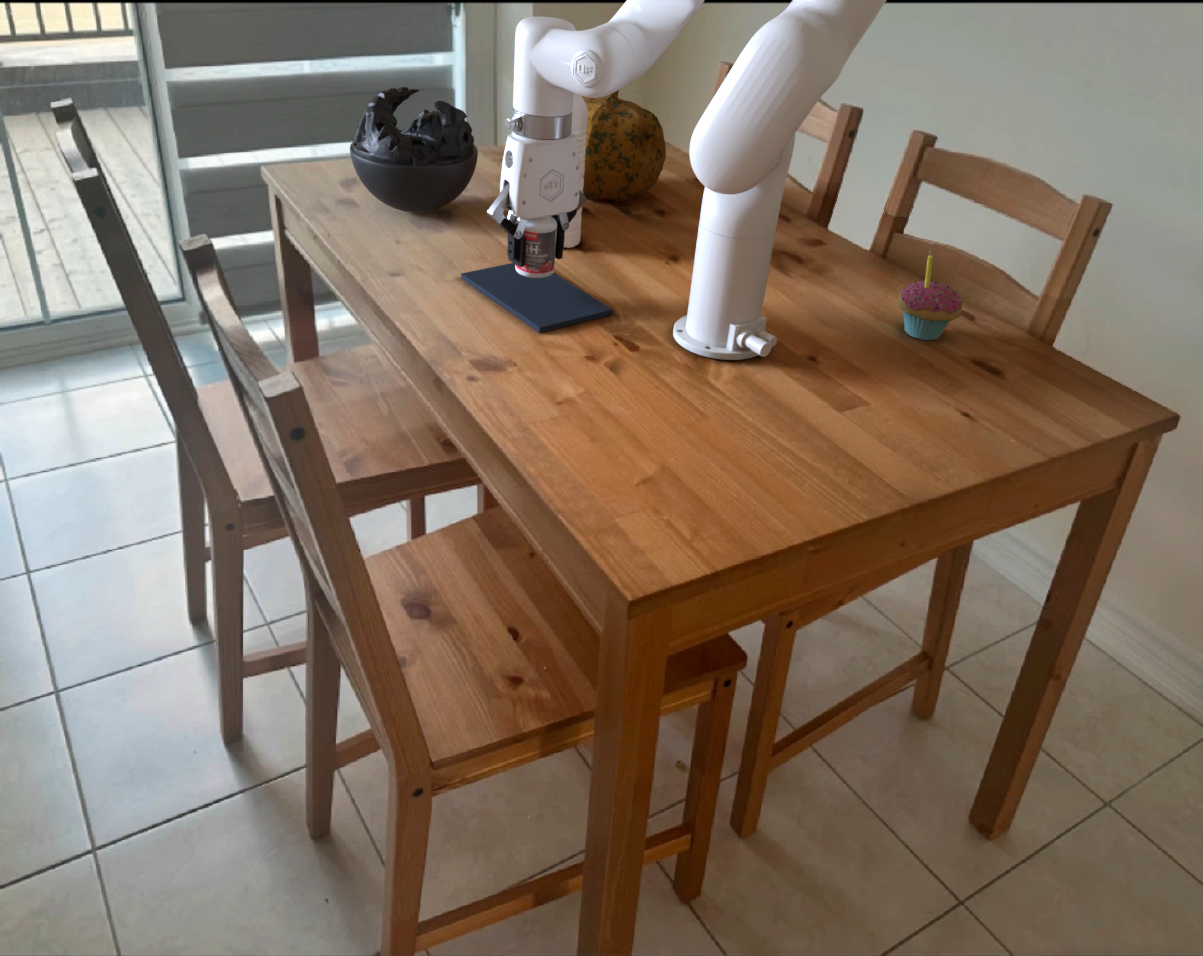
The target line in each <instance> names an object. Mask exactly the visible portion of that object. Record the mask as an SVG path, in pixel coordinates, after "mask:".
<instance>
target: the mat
mask: <svg viewBox="0 0 1203 956" xmlns="http://www.w3.org/2000/svg"><path fill="white" fill-rule="evenodd" d="M460 279H461V280H462V281H464V282H466V283H467V284H468V285H470V286H471V287H472V288H474V289H476V290H477V291H479V293H482V294H483V295H484V296H486V297H487V298H488V299H490V300H491V301H492V302H494V303H496V304H497V305H498V306H500V307H502V308H503V309H504V310H505V311H507V312H509V313H510V314H512V315H513V316H514V317H516V318H517V319H518V320H520V321H522V322H523V323H524V324H526V325H528V326H529V327H530V328H532V329H533V330H534V331H536V332H538V333H539V334H541V333H544V332H545V333H546V332H548V331H552V330H557V329H560V328H561V329H562V328H565V327H569V326H573V325H576V324H577V325H578V324H581V323H585V322H589V321H593V320H597V319H600V318H605V317H608V316H612V315H613V314H614V313H613V312H614V309H613V308H612V307H609V305H607V304H605V303H603V302H601V301H600V300H598V299H597V298H595V297H593V296H592V295H590V294H589V293H587V292H585V291H584V290H582V289H580V288H579V287H577V286H576V285H574V284H572V283H571V282H569V281H567V280H566V279H564V278H562V277H561V276H559V275H558V274H556V273H555V272H553V274H552V275H550V276H548V277H544V278H530V277H526V276H523V275H521V274H519V273H518V272H517V271H516V269H515V264H514V263H513V262H511V263H505V264H501V265H496V266H491V267H486V268H481V269H476V270H471V271H467V272H462V273H460Z"/></svg>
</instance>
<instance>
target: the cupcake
mask: <svg viewBox="0 0 1203 956" xmlns="http://www.w3.org/2000/svg"><path fill="white" fill-rule="evenodd" d="M928 252H929V254H928V255H927V259H926V268H925V277H924V280H922V281H915V282H911V283H910V284H909V285H906V286H905V287H902V288H903V289H902V290H901V291H900V292H899V295H898V298H897V304H898V305H897V306H898V308H899V309H900V310H902V312H903V322H904V323H903V324H904V332H905V333H906V334H907V335H909V336H910V337H912V338H915V339H917V340H921V341H922V340H923V341H935V340H938V339H939V338H940V336H941V335H942V333H943V332H944V330H945V329H946V328H947V326H948V325H949V323H950V322H951V321H954V320H957V319H959V318H960V317H961V315H962V310H963V303H964V302H963V300H962V298H961V297H960V295H959V294H958V292H956V291H955V290H954V288H952V287H951V286H949V284H944V283H942V282H939V281H931V277H932V268H933V259H934V256H933V255H932V250H929V251H928Z"/></svg>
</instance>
